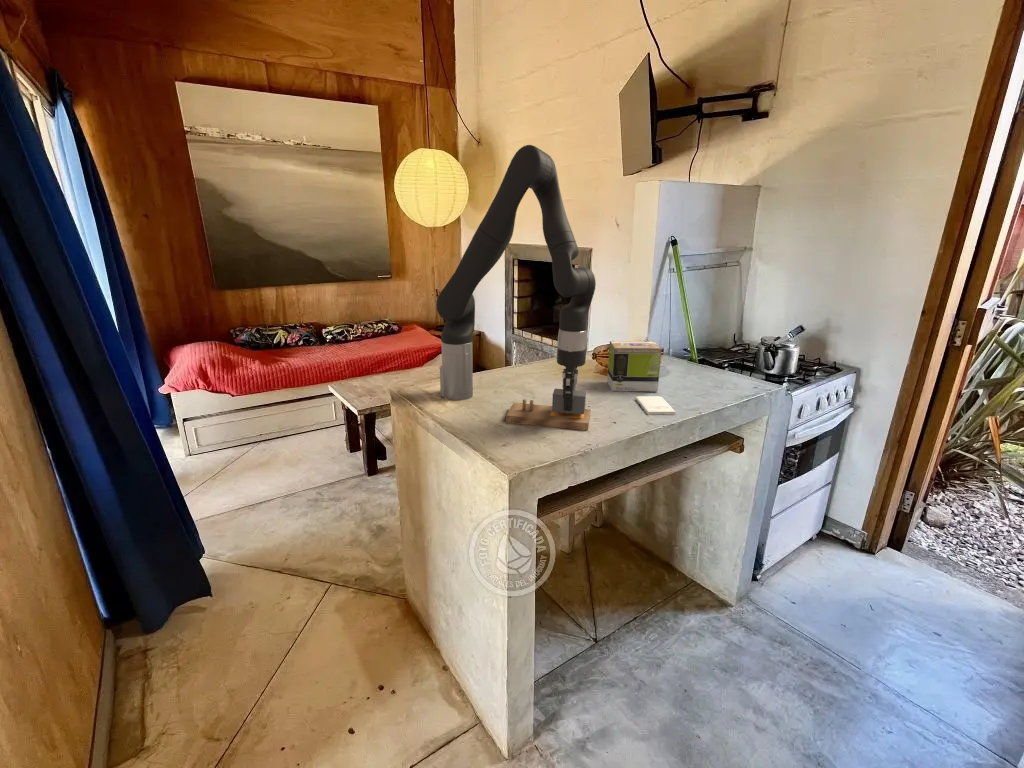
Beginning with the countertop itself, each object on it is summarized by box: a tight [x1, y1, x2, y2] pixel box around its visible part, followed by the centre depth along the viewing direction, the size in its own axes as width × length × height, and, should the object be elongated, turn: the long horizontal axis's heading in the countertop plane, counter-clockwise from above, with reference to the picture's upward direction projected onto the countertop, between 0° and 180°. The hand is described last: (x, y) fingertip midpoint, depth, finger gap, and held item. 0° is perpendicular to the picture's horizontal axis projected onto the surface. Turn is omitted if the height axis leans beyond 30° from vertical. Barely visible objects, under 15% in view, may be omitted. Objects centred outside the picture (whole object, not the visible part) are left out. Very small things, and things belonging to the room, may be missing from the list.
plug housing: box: [551, 388, 587, 414], centre depth 133 cm, size 9×5×5 cm, turn 79°
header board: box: [505, 399, 591, 431], centre depth 135 cm, size 22×10×5 cm, turn 79°
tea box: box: [606, 340, 662, 393], centre depth 161 cm, size 15×10×15 cm
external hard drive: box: [635, 395, 677, 416], centre depth 146 cm, size 2×8×12 cm
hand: (568, 406), depth 134 cm, fingers closed on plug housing, 4 cm apart
